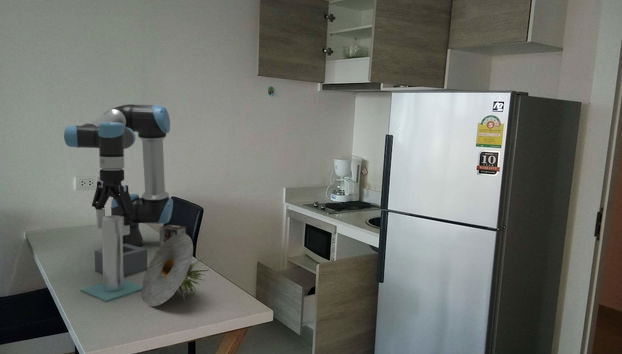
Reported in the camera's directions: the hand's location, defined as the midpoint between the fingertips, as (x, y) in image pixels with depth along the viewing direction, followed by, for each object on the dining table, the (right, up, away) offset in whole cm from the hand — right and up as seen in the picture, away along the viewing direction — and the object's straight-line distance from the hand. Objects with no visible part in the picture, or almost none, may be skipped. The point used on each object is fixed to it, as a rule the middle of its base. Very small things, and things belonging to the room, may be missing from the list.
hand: (113, 231), depth 157 cm
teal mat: (-1, -20, +2) cm, 21 cm away
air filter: (-1, -20, +2) cm, 20 cm away
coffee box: (+12, -18, +30) cm, 37 cm away
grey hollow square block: (-6, -18, +23) cm, 29 cm away
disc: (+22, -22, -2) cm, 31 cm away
